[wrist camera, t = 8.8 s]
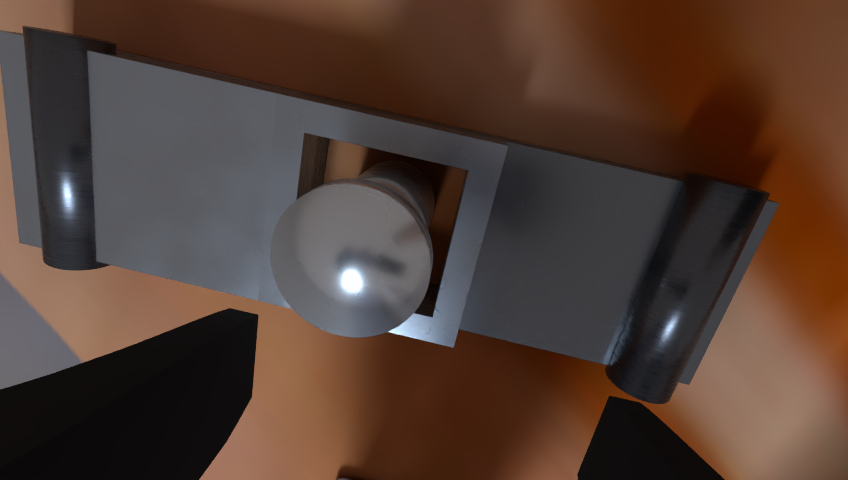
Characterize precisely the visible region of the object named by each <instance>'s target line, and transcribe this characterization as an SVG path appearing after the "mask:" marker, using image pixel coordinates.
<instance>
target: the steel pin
mask: <svg viewBox="0 0 848 480" xmlns="http://www.w3.org/2000/svg"><path fill="white" fill-rule="evenodd" d="M434 208H435V195H434V190H433V187H432V185H431V183H430V181H429V179H428V178H427V177H426V175H425V174H424V173H423V172H422V171H421V170H420V169H418V168H417V167H415V166H414V165H412V164H410V163H407V162H404V161H398V160H388V161H383V162H380V163H378V164H376V165H374V166H372V167H371V168H369V169H368V170H366V171H365V172H364V173H362V174H361V175H360V176H358V177H357V178H355V179H354V178H352V179H340V180H335V181H331V182H328V183H325V184H323V185H321V186H319V187H317V188H315V189H313V190H311V191H310V192H308V193H306V194H305V195H303V196H302V197H300V198H299V199H297V200H296V201H295V202H294V203H292V204H291V205H290V206H289V207H288V208H287V210H286V211H285V212H284V213H283V215H282V216H281V218H280V219H279V221H278V223H277V225H276V227H275V230H274V232H273V236H272V240H271V248H270V262H271V268H272V273H273V276H274V279H275V282H276V284H277V286H278V289H279V291H280V292H281V294H282V296H283V297H284V299H285V300H286V302H287V303H288V304H289V305H290V307H291V308H292V309H293V310H294V311H295V312H296V313H297V314H298V315H299V316H301V317H302V318H303V319H304V320H306V321H307V322H309V323H310V324H312V325H314V326H315V327H317V328H319V329H321V330H323V331H326V332H329V333H332V334H335V335H340V336H345V337H370V336H375V335H379V334H383V333H385V332H388V331H390V330H392V329H394V328H396V327H398V326H400V325H401V324H402V323H404V322H405V321H406V320H407V319H409V318H410V317H411V316H412V315H413V314H414V312H415V311H416V310H417V308H418V307H419V306H420V304H421V302H422V300H423V299H424V297H425V294H426V291H427V289H428V285H429V280H430V276H431V271H432V266H433V247H432V242H431V237H430V234H429V231H428V229H429V226H430V223H431V219H432V216H433V213H434Z"/></svg>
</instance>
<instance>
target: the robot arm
mask: <svg viewBox="0 0 848 480" xmlns="http://www.w3.org/2000/svg"><path fill="white" fill-rule="evenodd" d="M257 326H258V315H257V314H253V313H248V312H244V311H239V310H235V309H231V308H229V309H226V310H223V311H219V312H217V313H214V314H211V315H208V316H206V317H203V318H201V319H198V320H195V321H193V322H190V323H188V324H185V325H183V326H180V327H178V328H175V329H173V330H170V331H167V332H165V333H162V334H160V335H157V336H155V337H152V338H149V339H147V340H144V341H142V342H139V343H137V344H134V345H132V346H129V347H126V348H124V349H121V350H118V351H115V352H112V353H110V354H107V355H104V356H101V357H98V358H95V359H93V360H90V361H87V362H84V363H81V364H79V365H76V366H73V367H70V368H67V369H64V370H62V371H58V372H56V373H53V374H50V375H46V376H43V377H40V378H37V379H34V380H31V381H27V382H24V383H21V384H18V385H14V386H11V387H8V388H4V389H1V390H0V480H199V479H200V478H201V476H202V475H203V473H204V472H205V471H206V469H207V468H208V467H209V465H210V464H211V462H212V461H213V460H214V458H215V457H216V456H217V454H218V453H219V451H220V450H221V449H222V447H223V446H224V444H225V443H226V442H227V440H228V438H229V436H230V435H231V433H232V431H233V430H234V428H235V426H236V425H237V423H238V421H239V419H240V417H241V416H242V414H243V412H244V410H245V408H246V407H247V405H248V403H249V401H250V399H251V397H252V389H253V376H254V364H255V351H256V339H257ZM338 480H350V479H346V478H340V479H338ZM578 480H724V479H723V478H722V477H721V476H720V475H719V474H718V473H717V472H716V471H715V470H714V469H713V468H712V467H711V466H709V465H708V464H707V463H706V462H705V461H704V460H703V459H702V458H701V457H700V456H699V455H698V454H697V453H696V452H695V451H694V450H692V449H691V448H690V447H689V446H688V445H687V444H686V443H685V442H684V441H683V440H682V439H681V438H680V437H679V436H678V435H677V434H675V433H674V432H673V431H672V430H671V429H670V428H669V427H668V426H667V425H666V424H665V423H664V422H662V421H661V420H660V419H659V418H658V417H657V416H656V415H655V414H653V413H652V412H651V411H650V410H649V409H647V408H646V407H645V406H644V405H642V404H641V403H639V402H635V401H630V400H626V399H622V398H617V397H613V396H609V398H608V400H607V403H606V405H605V408H604V410H603V413H602V415H601V418H600V420H599V423H598V425H597V427H596V430H595V432H594V435H593V437H592V440H591V442H590V445H589V447H588V449H587V452H586V454H585V457H584V459H583V462H582V464H581V467H580V469H579V472H578Z"/></svg>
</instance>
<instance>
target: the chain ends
mask: <svg viewBox="0 0 848 480" xmlns="http://www.w3.org/2000/svg"><path fill="white" fill-rule="evenodd" d="M0 64H1V73H2V83H3V92H4V102H5V111H6V120H7V130H8V139H9V149H10V158H11V168H12V177H13V186H14V196H15V205H16V215H17V224H18V234H19V243H23V244H27V245H31V246H35V247H39V248H42V253H43V261H44V263H46V264H47V265H49V266H51V267H54V268H58V269H63V270H91V269H97V268H102V267H106V266H109V265H113V266H118V267H122V268H126V269H130V270H134V271H138V272H142V273H147V274H151V275H155V276H159V277H163V278H167V279H171V280H175V281H180V282H184V283H188V284H192V285H196V286H200V287H204V288H208V289H213V290H217V291H221V292H225V293H229V294H233V295H237V296H242V297H246V298H250V299H254V300H258V301H262V302H266V303H270V304H275V305H279V306H283V307H287V308H291V307H290V305H289V304H288V303H287V302H286V300H285V299H284V297H283V296H282V294H281V292H280V291H279V289H278V286H277V284H276V282H275V279H274V276H273V273H272V268H271V262H270V248H271V240H272V236H273V232H274V230H275V227H276V225H277V223H278V221H279V219H280V218H281V216H282V215H283V213H284V212H285V211H286V210H287V208H288V207H289V206H290V205H291V204H292V203H294V202H295V201H296V200H297V199H299V198H300V197H302V196H303V195H305V194H306V193H308V192H310V191H311V190H313V189H315V188H317V187H319V186H321V185H323V180H324V172H325V165H326V158H327V150H328V143H329V138H330V139H334V140H339V141H343V142H348V143H352V144H356V145H361V146H365V147H369V148H374V149H378V150H382V151H387V152H391V153H395V154H400V155H404V156H409V157H413V158H417V159H422V160H426V161H430V162H435V163H439V164H443V165H448V166H452V167H457V168H461V169H465V170H466V174H465V178H464V182H463V186H462V190H461V194H460V199H459V203H458V207H457V211H456V215H455V219H454V223H453V227H452V231H451V235H450V239H449V244H448V248H447V252H446V256H445V260H444V264H443V268H442V272H441V276H440V280H439V284H438V285H435V284H431V283H429V285H428V289H427V291H426V294H425V297H424V299H423V300H422V302H421V304H420V306H419V307H418V308H417V310H416V311H415V312H414V314H413V315H412V316H411V317H410V318H409V319H407V320H406V321H405V322H404V323H402V324H401V325H400V326H398V327H396V328H394V329H392V330H390V331H388V332H390V333H394V334H398V335H403V336H407V337H411V338H415V339H419V340H423V341H427V342H432V343H436V344H440V345H444V346H448V347H452V348H454V344H455V341H456V337H457V333H458V329H460V330H464V331H468V332H472V333H476V334H480V335H484V336H489V337H493V338H497V339H501V340H505V341H509V342H514V343H518V344H522V345H526V346H530V347H534V348H538V349H543V350H547V351H551V352H555V353H559V354H563V355H568V356H572V357H576V358H580V359H584V360H588V361H592V362H597V363H601V364H605V365H607V366H606V368H605V372H606V375H607V376H608V378H609V379H610V380H611V382H612V383H613V384H615V385H616V386H617V387H618V388H619V389H621V390H622V391H624V392H625V393H627V394H629V395H631V396H633V397H635V398H637V399H639V400H642V401H645V402H649V403H654V404H664V403H667V402H668V401H669V400H670V398H671V396H672V394H673V392H674V390H675V388H676V386H677V384H678V382H680V383H684V384H688V385H689V384H690V382H691V380H692V378H693V376H694V374H695V372H696V370H697V368H698V366H699V364H700V362H701V360H702V358H703V356H704V354H705V352H706V350H707V348H708V346H709V344H710V342H711V340H712V338H713V336H714V334H715V332H716V330H717V328H718V326H719V324H720V322H721V320H722V318H723V316H724V314H725V312H726V310H727V308H728V306H729V304H730V302H731V300H732V298H733V296H734V294H735V292H736V290H737V288H738V286H739V284H740V282H741V280H742V278H743V276H744V274H745V272H746V270H747V268H748V266H749V264H750V262H751V260H752V258H753V256H754V254H755V252H756V250H757V248H758V246H759V244H760V242H761V240H762V238H763V236H764V234H765V232H766V230H767V228H768V226H769V224H770V222H771V220H772V218H773V216H774V214H775V212H776V209H777V207H778V205H779V203H777V202H774V201H771V200H768V197H769V195H770V193H768V192H766V191H763V190H760V189H757V188H753V187H750V186H746V185H743V184H739V183H735V182H731V181H727V180H723V179H719V178H715V177H711V176H706V175H702V174H697V173H691V172H687V173H686V175H685V178H679V177H675V176H671V175H666V174H662V173H657V172H653V171H649V170H644V169H640V168H635V167H631V166H626V165H622V164H618V163H613V162H609V161H604V160H600V159H596V158H591V157H587V156H582V155H578V154H573V153H569V152H565V151H560V150H556V149H551V148H547V147H543V146H538V145H534V144H529V143H525V142H520V141H516V140H512V139H507V138H503V137H498V136H494V135H490V134H485V133H481V132H476V131H472V130H467V129H463V128H459V127H454V126H450V125H445V124H441V123H437V122H432V121H428V120H423V119H419V118H414V117H410V116H406V115H401V114H397V113H392V112H388V111H384V110H379V109H375V108H370V107H366V106H361V105H357V104H353V103H348V102H344V101H339V100H335V99H331V98H326V97H322V96H317V95H313V94H308V93H304V92H300V91H295V90H291V89H286V88H282V87H278V86H273V85H269V84H264V83H260V82H255V81H251V80H247V79H242V78H238V77H233V76H229V75H225V74H220V73H216V72H211V71H207V70H202V69H198V68H194V67H189V66H185V65H180V64H176V63H172V62H167V61H163V60H158V59H154V58H149V57H145V56H141V55H136V54H132V53H127V52H123V51H119V50H117V49H116V44H115V43H112V42H108V41H104V40H100V39H95V38H90V37H85V36H81V35H75V34H70V33H65V32H59V31H54V30H48V29H42V28H35V27H28V26H23V33H16V32H9V31H1V30H0ZM291 309H292V308H291Z"/></svg>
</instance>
